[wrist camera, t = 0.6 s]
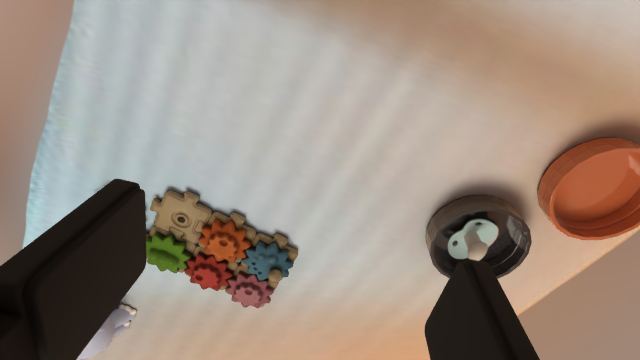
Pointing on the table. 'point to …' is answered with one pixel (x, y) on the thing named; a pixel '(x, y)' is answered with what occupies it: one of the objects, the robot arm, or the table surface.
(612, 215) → the terracotta bowl
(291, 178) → the table surface
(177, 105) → the table surface
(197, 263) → the gear puzzle
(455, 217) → the charcoal bowl
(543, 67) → the table surface
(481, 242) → the pacifier
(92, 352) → the hippopotamus toy
